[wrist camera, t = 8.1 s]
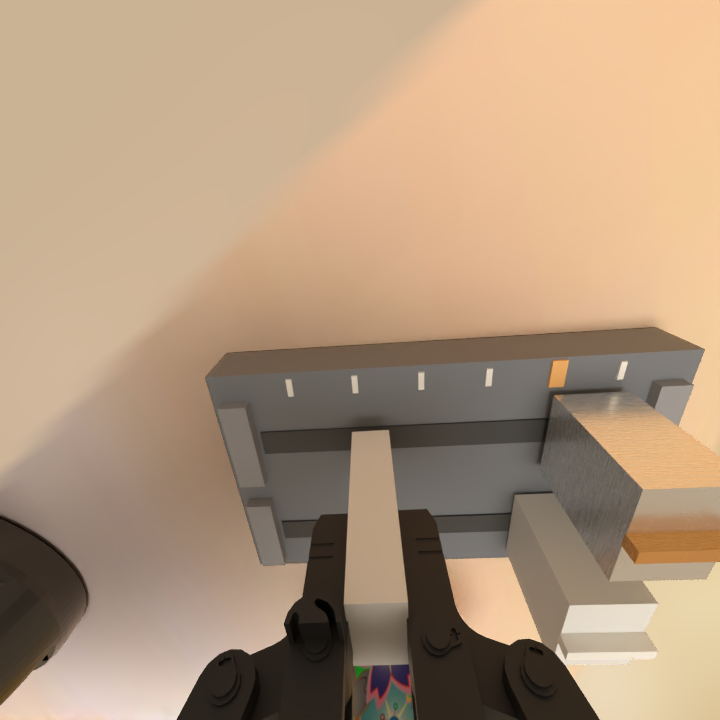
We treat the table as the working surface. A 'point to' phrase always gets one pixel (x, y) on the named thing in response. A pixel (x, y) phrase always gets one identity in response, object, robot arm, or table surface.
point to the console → (451, 455)
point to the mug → (382, 692)
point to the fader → (634, 487)
